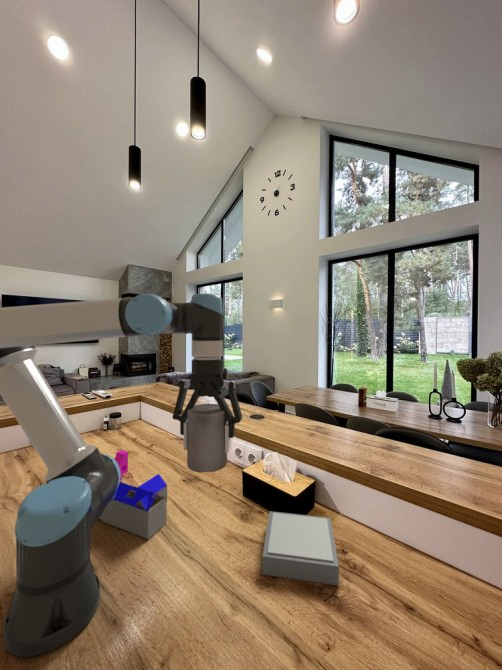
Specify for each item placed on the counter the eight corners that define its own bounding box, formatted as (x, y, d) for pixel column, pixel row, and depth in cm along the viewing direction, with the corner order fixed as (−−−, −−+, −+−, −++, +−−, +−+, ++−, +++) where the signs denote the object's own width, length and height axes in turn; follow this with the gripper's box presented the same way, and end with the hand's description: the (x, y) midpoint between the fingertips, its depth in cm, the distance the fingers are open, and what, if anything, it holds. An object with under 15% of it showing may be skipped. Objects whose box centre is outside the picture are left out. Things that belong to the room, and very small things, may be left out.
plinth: (338, 585, 61) (338, 565, 60) (262, 574, 63) (262, 554, 63) (330, 533, 76) (330, 516, 76) (269, 525, 79) (269, 510, 79)
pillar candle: (208, 452, 78) (208, 396, 78) (235, 462, 72) (235, 402, 72) (178, 465, 71) (178, 403, 70) (205, 478, 64) (205, 410, 64)
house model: (81, 513, 84) (81, 479, 84) (123, 488, 98) (123, 458, 97) (147, 539, 74) (147, 500, 73) (184, 507, 87) (184, 474, 87)
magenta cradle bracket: (95, 493, 94) (95, 470, 94) (82, 488, 97) (82, 466, 97) (132, 473, 108) (132, 453, 107) (120, 469, 110) (120, 450, 110)
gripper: (254, 357, 73) (254, 446, 73) (170, 356, 76) (171, 440, 77) (249, 360, 66) (249, 458, 66) (157, 358, 69) (157, 452, 69)
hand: (207, 449), depth 71 cm, fingers closed on pillar candle, 10 cm apart
